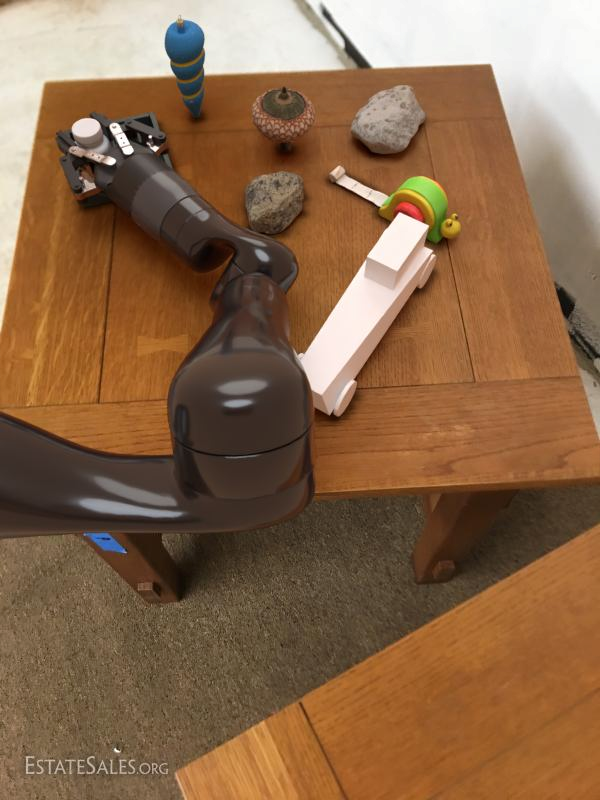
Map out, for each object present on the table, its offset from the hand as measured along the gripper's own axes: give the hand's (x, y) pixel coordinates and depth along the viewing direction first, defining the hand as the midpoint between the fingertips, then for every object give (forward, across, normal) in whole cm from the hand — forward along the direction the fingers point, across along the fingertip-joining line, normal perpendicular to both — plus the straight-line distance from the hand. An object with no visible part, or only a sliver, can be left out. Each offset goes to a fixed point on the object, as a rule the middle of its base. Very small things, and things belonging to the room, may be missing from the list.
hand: (77, 128), depth 81 cm
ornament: (-1, -17, +8) cm, 19 cm away
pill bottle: (-3, 0, +6) cm, 7 cm away
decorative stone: (-21, -35, +8) cm, 42 cm away
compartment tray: (-1, -4, +8) cm, 8 cm away
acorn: (-14, -22, +8) cm, 27 cm away
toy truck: (-42, -8, +8) cm, 44 cm away
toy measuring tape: (-32, -25, +8) cm, 41 cm away
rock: (-21, -13, +8) cm, 26 cm away
